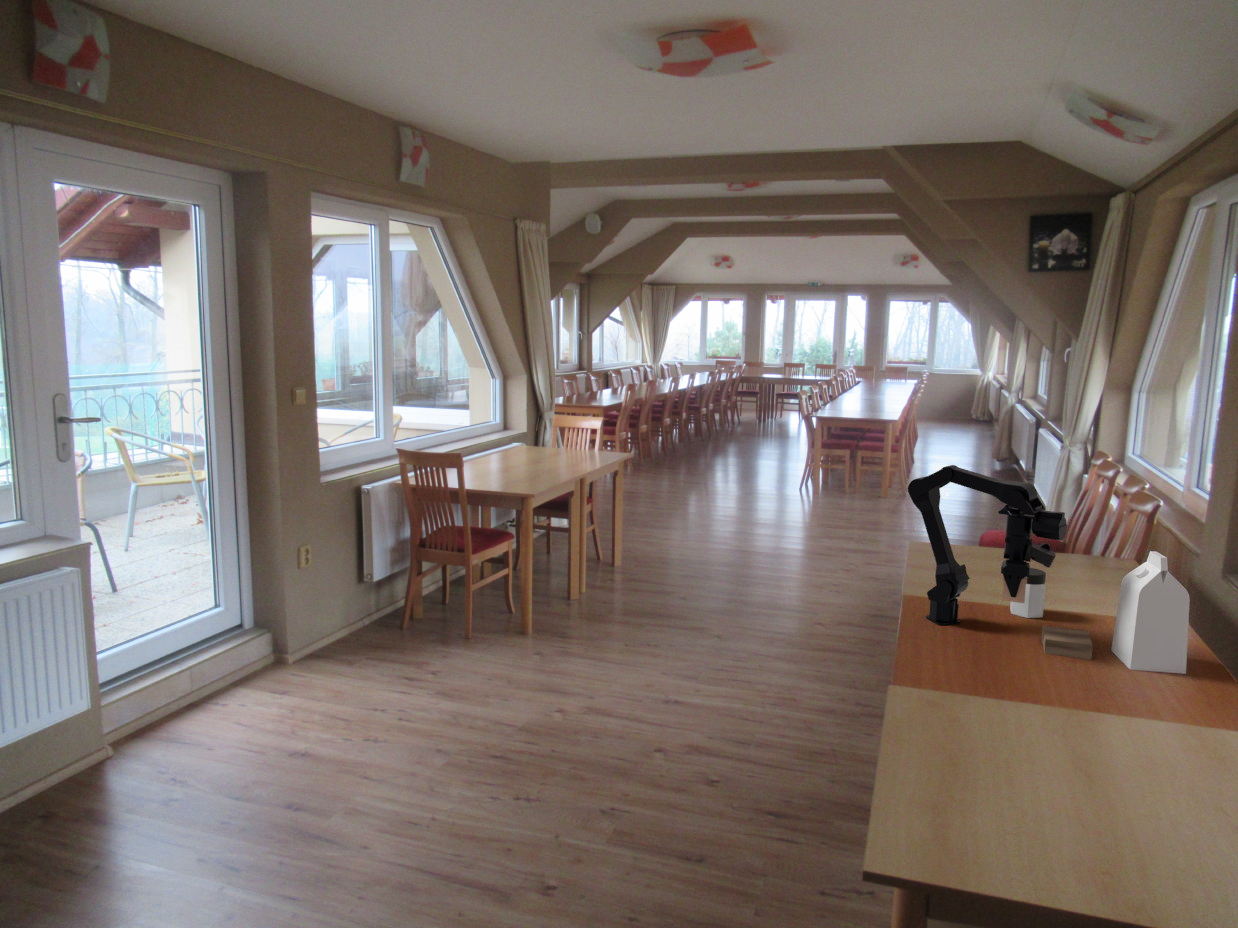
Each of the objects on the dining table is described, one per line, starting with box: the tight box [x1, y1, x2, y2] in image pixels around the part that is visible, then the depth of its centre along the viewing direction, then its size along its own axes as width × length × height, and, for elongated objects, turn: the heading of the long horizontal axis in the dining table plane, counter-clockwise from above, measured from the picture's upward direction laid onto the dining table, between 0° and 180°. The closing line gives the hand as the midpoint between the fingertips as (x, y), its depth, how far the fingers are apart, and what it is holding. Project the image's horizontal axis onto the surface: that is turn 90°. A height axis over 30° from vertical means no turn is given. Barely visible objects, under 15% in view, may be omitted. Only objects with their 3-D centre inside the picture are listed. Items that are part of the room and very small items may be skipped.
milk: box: [1110, 550, 1191, 675], centre depth 197 cm, size 12×12×26 cm
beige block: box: [1040, 625, 1094, 661], centre depth 206 cm, size 10×10×4 cm
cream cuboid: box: [1001, 575, 1027, 603], centre depth 212 cm, size 5×5×6 cm
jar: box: [1009, 567, 1047, 619], centre depth 232 cm, size 9×8×12 cm
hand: (1013, 594), depth 212 cm, fingers closed on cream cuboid, 5 cm apart
